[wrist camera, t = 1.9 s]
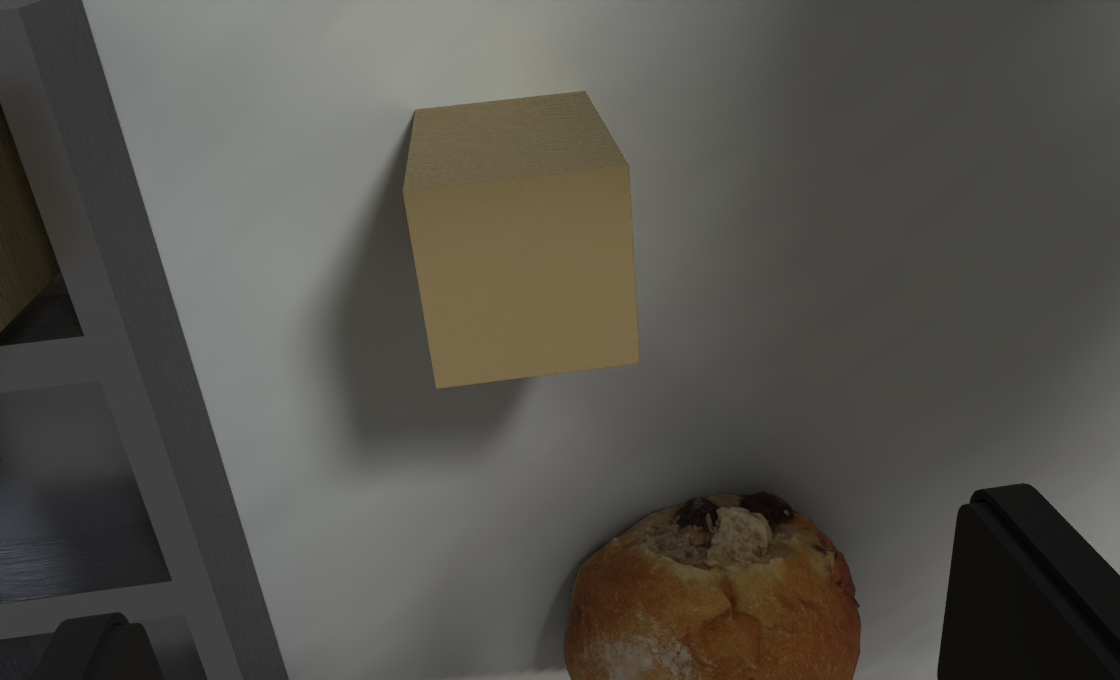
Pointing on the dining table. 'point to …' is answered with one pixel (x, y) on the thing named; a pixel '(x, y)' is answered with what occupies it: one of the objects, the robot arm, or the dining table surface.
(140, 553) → the grey compartment tray
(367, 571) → the dining table surface
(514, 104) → the tan cubic block
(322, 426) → the dining table surface
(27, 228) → the khaki cardboard box
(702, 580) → the bread roll
